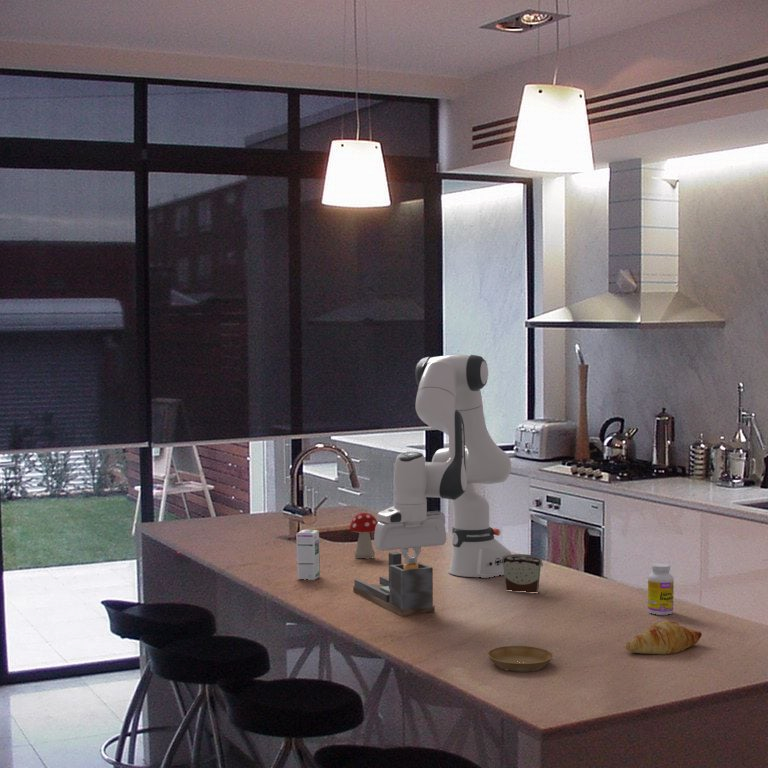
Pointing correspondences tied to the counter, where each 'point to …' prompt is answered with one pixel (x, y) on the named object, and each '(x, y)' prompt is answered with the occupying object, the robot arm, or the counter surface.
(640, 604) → the counter surface
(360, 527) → the decorative mushroom
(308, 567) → the syrup box
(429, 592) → the rail
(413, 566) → the button
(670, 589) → the supplement bottle
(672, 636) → the croissant
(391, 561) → the carriage
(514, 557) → the food container
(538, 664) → the plant saucer
